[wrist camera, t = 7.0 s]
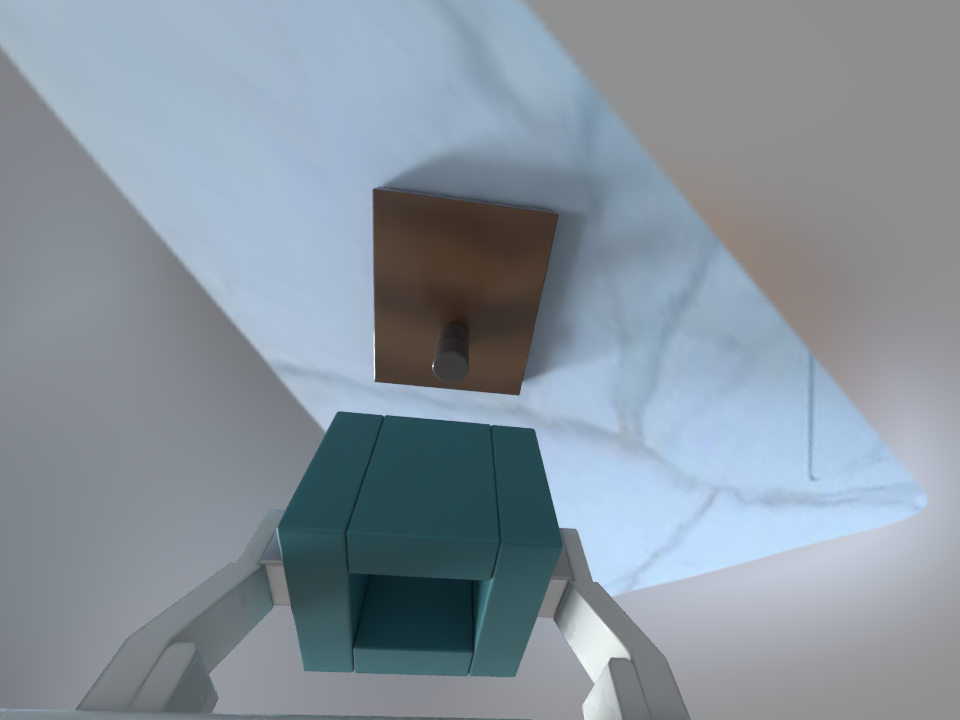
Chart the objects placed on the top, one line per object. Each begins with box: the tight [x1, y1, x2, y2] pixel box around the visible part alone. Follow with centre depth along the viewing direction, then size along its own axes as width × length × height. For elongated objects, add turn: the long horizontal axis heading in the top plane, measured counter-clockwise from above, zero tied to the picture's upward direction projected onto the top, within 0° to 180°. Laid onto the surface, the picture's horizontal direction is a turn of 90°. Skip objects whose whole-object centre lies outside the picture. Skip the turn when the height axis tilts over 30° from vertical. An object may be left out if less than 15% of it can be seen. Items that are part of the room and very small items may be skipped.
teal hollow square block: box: [276, 412, 563, 677], centre depth 11 cm, size 6×6×4 cm
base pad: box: [373, 187, 558, 395], centre depth 21 cm, size 12×10×6 cm
